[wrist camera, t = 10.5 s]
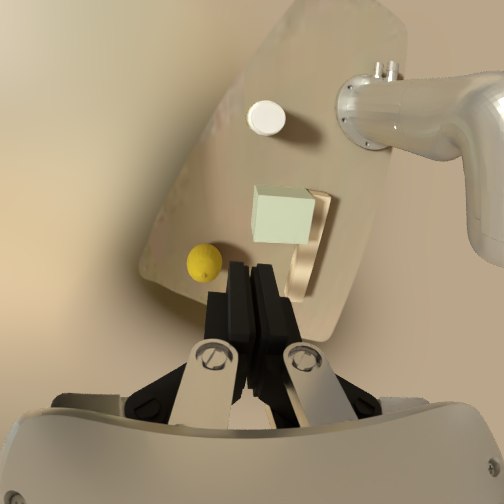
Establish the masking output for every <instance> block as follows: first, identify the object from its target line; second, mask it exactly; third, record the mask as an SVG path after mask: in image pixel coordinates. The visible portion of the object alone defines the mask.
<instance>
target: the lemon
mask: <svg viewBox="0 0 504 504" xmlns="http://www.w3.org/2000/svg"><path fill="white" fill-rule="evenodd" d="M221 267H222V257H221V254H220V252H219V251H218V249H217V248H216V247H215V246H213V245H211V244H199V245H197V246H195V247H194V248H193V249H192V250H191V252H190V253H189V256H188V259H187V268H188V272H189V274H190V275H191V277H192V278H193V279H195V280H196V281H198V282H202V283H207V282H210V281H212V280H214V279H215V278H216V277H217V276H218V274H219V273H220V271H221Z"/></svg>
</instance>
